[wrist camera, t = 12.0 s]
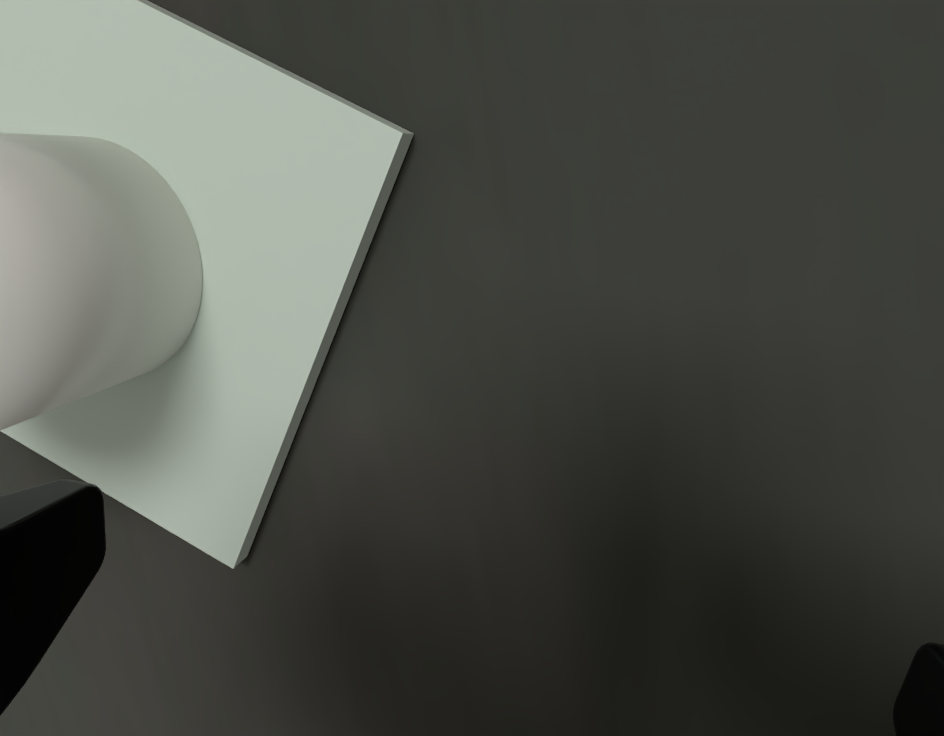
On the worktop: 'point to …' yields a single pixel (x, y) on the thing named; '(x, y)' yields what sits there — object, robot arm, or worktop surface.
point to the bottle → (87, 271)
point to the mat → (206, 249)
